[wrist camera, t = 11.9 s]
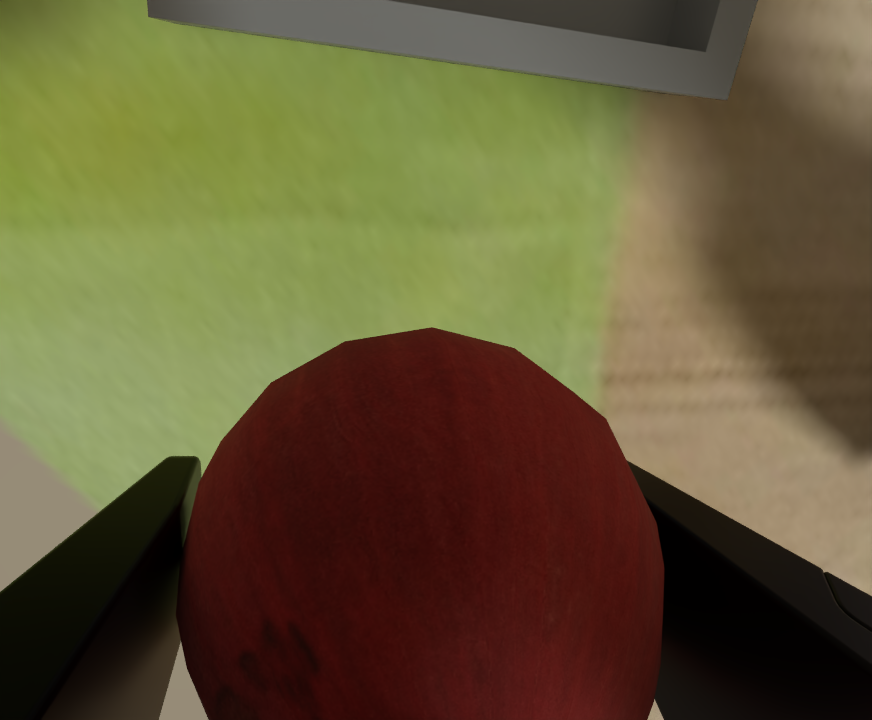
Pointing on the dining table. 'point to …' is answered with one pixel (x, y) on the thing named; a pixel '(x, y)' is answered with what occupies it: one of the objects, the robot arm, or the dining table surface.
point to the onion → (421, 546)
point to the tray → (512, 35)
